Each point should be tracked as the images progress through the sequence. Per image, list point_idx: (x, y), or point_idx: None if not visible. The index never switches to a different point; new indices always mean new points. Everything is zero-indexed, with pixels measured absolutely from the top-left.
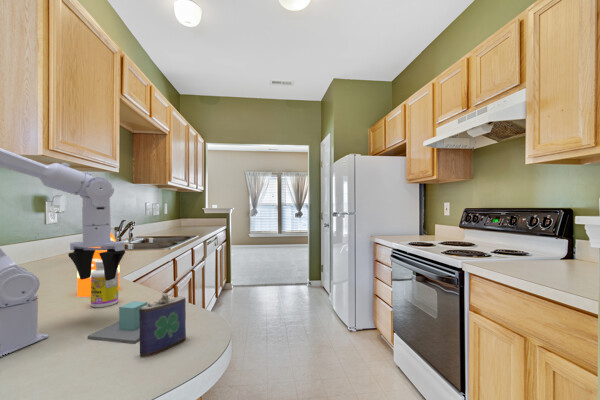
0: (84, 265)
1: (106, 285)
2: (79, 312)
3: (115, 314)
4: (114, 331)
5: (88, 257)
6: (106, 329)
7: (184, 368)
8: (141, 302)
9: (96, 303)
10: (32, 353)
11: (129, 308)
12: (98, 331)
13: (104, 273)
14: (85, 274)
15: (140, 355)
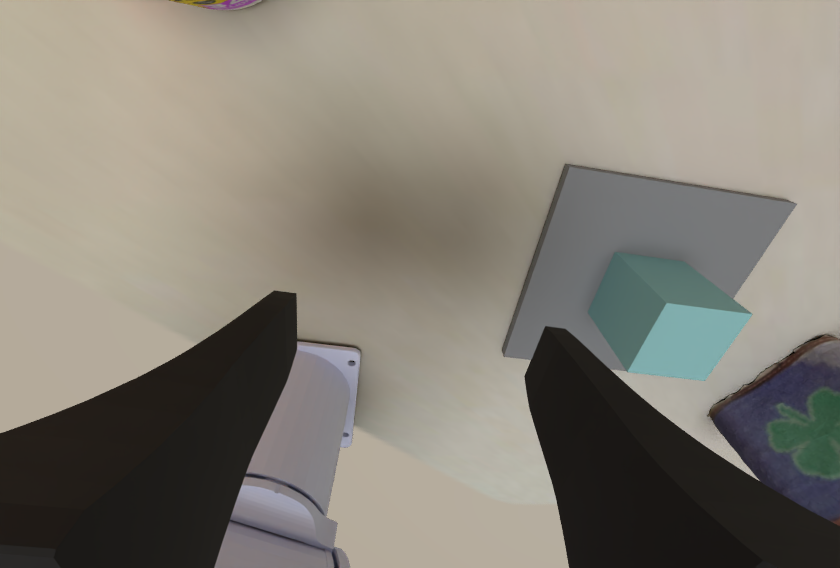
0: (243, 427)
1: None
2: (205, 97)
3: (450, 125)
4: (580, 328)
5: (191, 478)
6: (540, 315)
7: None
8: (721, 319)
9: (224, 9)
10: (411, 415)
11: (680, 376)
12: (519, 328)
13: (540, 437)
14: (284, 353)
15: (709, 415)
